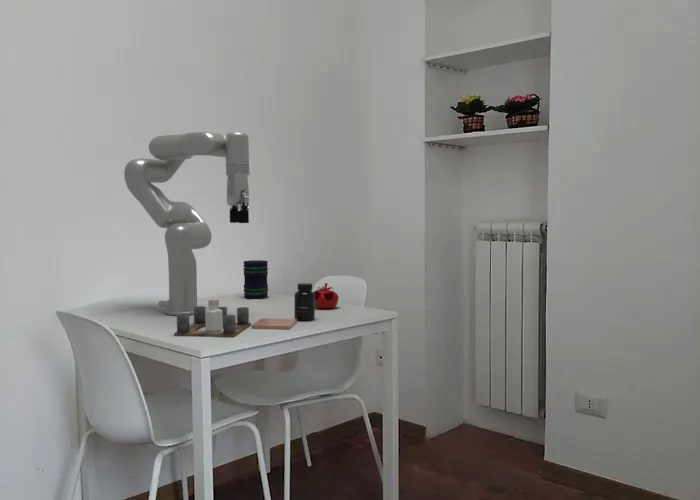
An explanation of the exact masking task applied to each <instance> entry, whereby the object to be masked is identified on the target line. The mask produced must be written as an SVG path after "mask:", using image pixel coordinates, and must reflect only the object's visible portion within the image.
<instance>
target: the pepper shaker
mask: <svg viewBox="0 0 700 500" xmlns="http://www.w3.org/2000/svg"><path fill="white" fill-rule="evenodd" d="M207 302H208V304H207V305H208V309H206V311H205V326H206V327H205V331H223V313H222V310H220V309H219V307H220V298H209V299H208V300H207Z"/></svg>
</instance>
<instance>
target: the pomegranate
mask: <svg viewBox="0 0 700 500" xmlns="http://www.w3.org/2000/svg"><path fill="white" fill-rule="evenodd" d="M315 289H316V290H314V291H313V292H314V294H315V309H318V310H332V309H335V308H336V306H338V302H339V295H338V293H336V292H335V291H334V289H335V287H333V286H330V287H328V282H326V283H324V285H323V286H321V287H316V288H315ZM331 289H333V290H331Z"/></svg>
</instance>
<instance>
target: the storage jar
mask: <svg viewBox="0 0 700 500" xmlns="http://www.w3.org/2000/svg"><path fill="white" fill-rule="evenodd" d="M268 263H269V262H268V260H263V259H262V260H259V259H257V260H256V259H255V260H254V259H253V260H252V259H251V260H243V269H242V270H243V277H244V279H243V280H244V284H243V295H244V296H243V299H244V298H246V299H245V300H251V299H258V300H266V299H268V298H269V296H268V294H269V284H268V272H269V267H268Z"/></svg>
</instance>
